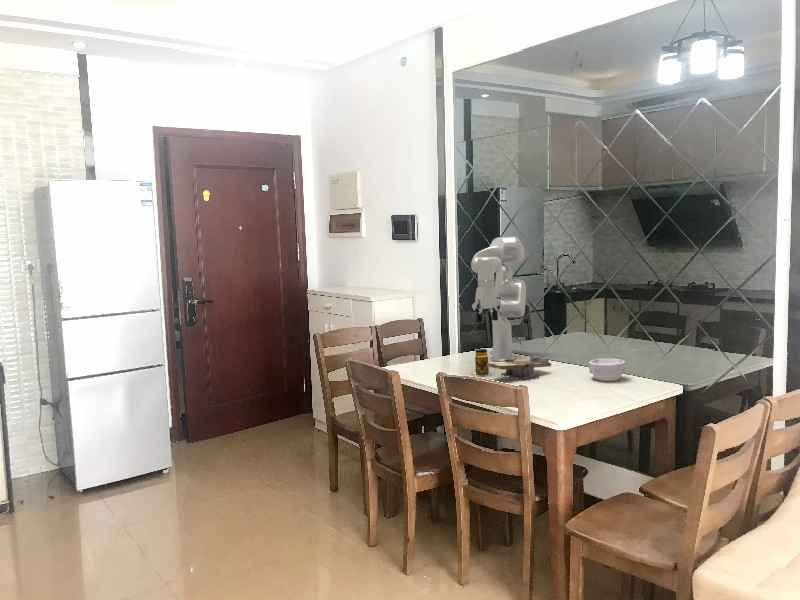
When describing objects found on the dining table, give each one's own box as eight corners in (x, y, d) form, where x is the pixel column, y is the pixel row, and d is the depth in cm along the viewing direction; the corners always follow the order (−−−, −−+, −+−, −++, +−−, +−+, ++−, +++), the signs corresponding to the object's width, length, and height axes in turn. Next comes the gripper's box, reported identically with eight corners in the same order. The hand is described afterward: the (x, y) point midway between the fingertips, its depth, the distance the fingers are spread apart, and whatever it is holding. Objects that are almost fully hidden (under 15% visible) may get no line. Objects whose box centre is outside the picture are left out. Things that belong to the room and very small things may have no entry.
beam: (486, 366, 290) (487, 358, 290) (535, 363, 307) (535, 355, 307) (502, 369, 282) (502, 361, 282) (551, 366, 299) (551, 358, 298)
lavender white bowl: (588, 375, 292) (588, 357, 291) (624, 375, 288) (624, 357, 287) (589, 382, 277) (589, 364, 277) (627, 383, 273) (627, 364, 273)
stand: (501, 375, 299) (500, 360, 299) (514, 372, 304) (513, 357, 303) (526, 380, 286) (525, 365, 285) (539, 378, 291) (538, 362, 290)
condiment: (480, 377, 298) (479, 351, 297) (469, 374, 305) (468, 348, 304) (493, 375, 301) (492, 349, 300) (482, 372, 309) (481, 347, 308)
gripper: (494, 283, 309) (495, 319, 310) (466, 285, 299) (467, 322, 300) (505, 283, 302) (506, 320, 304) (477, 285, 293) (478, 323, 294)
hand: (487, 321), depth 302 cm, fingers open, 9 cm apart
